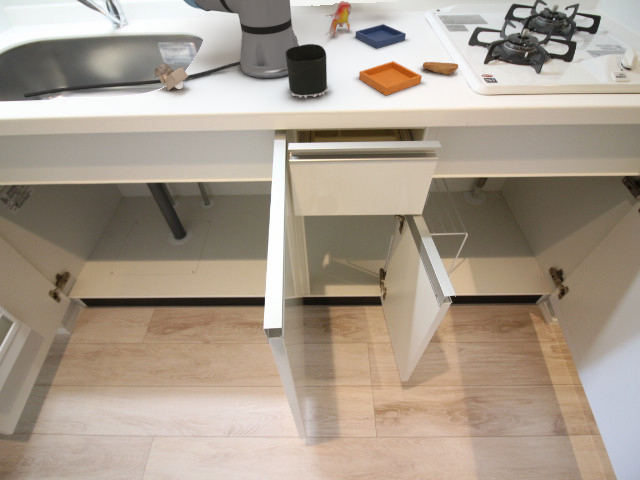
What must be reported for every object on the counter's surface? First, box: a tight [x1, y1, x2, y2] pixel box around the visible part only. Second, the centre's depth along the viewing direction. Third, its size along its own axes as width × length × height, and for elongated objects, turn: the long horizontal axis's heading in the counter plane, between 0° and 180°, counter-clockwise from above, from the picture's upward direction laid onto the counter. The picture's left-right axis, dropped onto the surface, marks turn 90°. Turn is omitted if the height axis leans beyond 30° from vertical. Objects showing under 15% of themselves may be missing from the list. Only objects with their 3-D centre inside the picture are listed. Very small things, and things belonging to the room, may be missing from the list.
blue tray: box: [354, 23, 407, 49], centre depth 88 cm, size 10×10×2 cm
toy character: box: [153, 62, 189, 91], centre depth 72 cm, size 4×8×6 cm, turn 61°
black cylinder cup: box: [286, 43, 329, 99], centre depth 67 cm, size 8×8×8 cm
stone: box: [422, 61, 459, 75], centre depth 73 cm, size 8×2×5 cm
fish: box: [325, 0, 352, 36], centre depth 89 cm, size 13×4×10 cm
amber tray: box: [358, 60, 423, 96], centre depth 71 cm, size 10×10×2 cm
